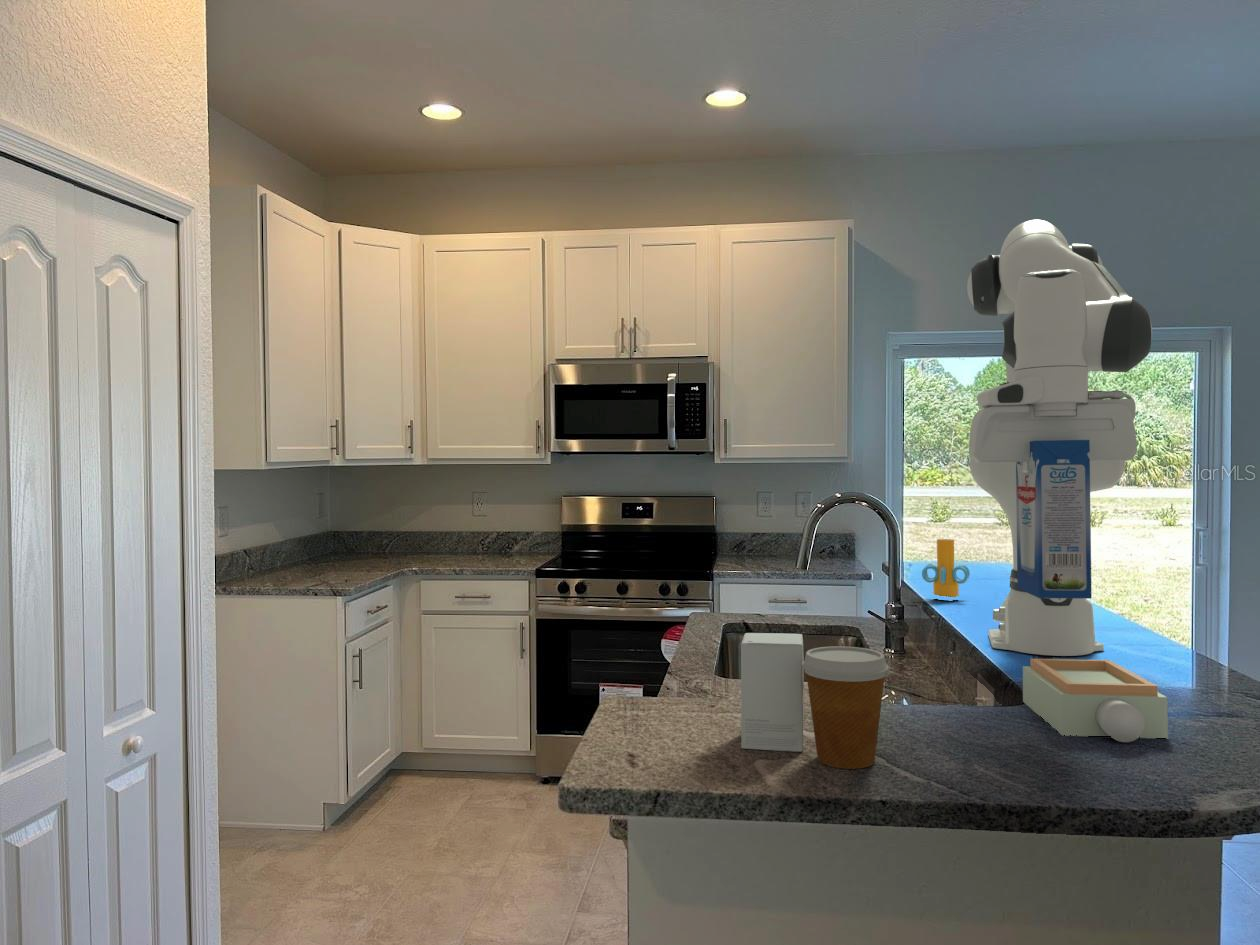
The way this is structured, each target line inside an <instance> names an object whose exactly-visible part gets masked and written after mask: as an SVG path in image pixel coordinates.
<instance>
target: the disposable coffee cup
mask: <svg viewBox="0 0 1260 945" xmlns="http://www.w3.org/2000/svg"><path fill="white" fill-rule="evenodd" d="M802 666H803V668H804V674H806V680H807V687H808V694H809V704H810V711H811V720H812V727H813V732H814V742H815V749H816V756H817V758H816V759H817V761H819V762H820V763H821V764H824V765H826V766H829V767H832V768H839V769H850V770H851V769H853V770H855V769H864V768H868V767H871V766H873V765H874V764H875V762H876V751H877V750H876V749H877V742H878V735H879V728H880V727H879V726H880V725H879V724H880V720H881V719H880V717H881V711H882V708H881V707H882V701H883V692H884V683H885V677H886V676H887V672H888V671H889V669H890V666H889V664H887V662H886V659H885V655H884V653H883V652H881V651H877V650H875V649H871V648H865V647H856V646H837V645H836V646H822V647H821V646H820V647H814V648H811V649H808V650H807V651H806V652H805V657H804V661H803V663H802Z"/></svg>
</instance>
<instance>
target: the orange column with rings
mask: <svg viewBox="0 0 1260 945" xmlns="http://www.w3.org/2000/svg"><path fill="white" fill-rule="evenodd" d="M930 569H932V570H933V571H934V577H931V576H929V573H928V570H930ZM959 570H961V571H962V572H963V574H964V577H963V578H959V577H958V576H957V571H959ZM970 574H971V573H970V569H969V567H967V566H966V565H964V564H958V565H957V566H955V540H954V539H951V538H939V539H938V538H937V539H936V564H934V563H928V564H926V566H924V567H923V569H922V572H921V577H922V579H923V580H924V582H927V583H932V587H933V589H932V592H933V593H932V594H935V595H939V596H946V597H947V596H948V597H956V596H959V597H960V592H959V591H960V590H959V589H960V585H961V584H965V583H966V582H967V581H968V579H969V577H970ZM959 584H960V585H959Z"/></svg>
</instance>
